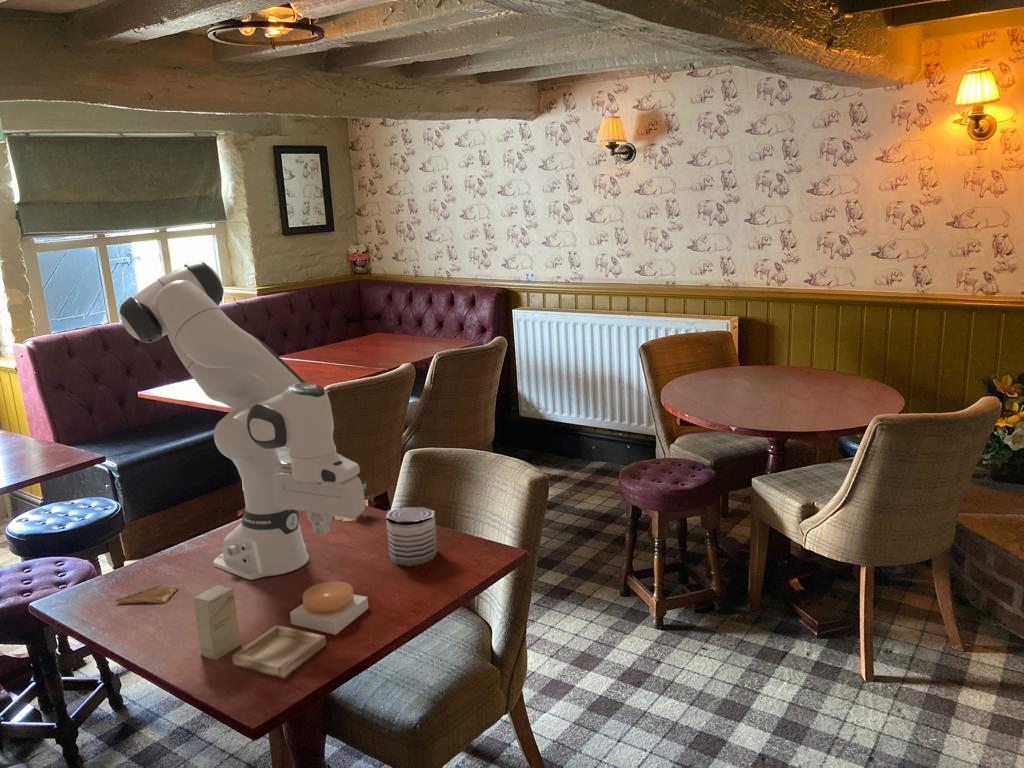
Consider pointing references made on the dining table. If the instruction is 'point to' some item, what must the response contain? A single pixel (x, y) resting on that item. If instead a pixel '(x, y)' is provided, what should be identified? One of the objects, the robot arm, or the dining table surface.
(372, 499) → the frog figurine
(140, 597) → the shard
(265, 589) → the dining table surface
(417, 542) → the can
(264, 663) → the beige soap dish
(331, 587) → the button
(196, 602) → the skincare box
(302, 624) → the white square base
